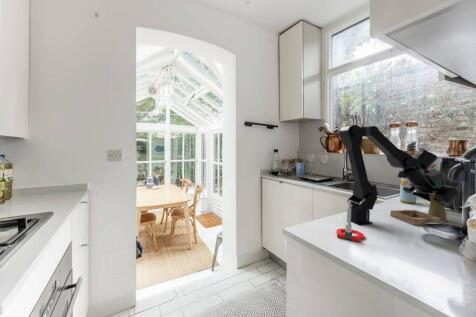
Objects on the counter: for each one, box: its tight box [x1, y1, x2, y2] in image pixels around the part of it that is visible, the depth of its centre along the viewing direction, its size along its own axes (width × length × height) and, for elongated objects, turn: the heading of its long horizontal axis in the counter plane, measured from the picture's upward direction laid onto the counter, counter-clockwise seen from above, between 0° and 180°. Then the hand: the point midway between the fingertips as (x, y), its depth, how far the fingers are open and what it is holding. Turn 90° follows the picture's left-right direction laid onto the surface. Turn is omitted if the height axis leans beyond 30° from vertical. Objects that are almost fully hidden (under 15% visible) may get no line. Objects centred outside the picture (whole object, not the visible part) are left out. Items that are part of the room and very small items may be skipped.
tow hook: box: [335, 201, 365, 243], centre depth 72 cm, size 8×13×9 cm
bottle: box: [399, 178, 417, 205], centre depth 114 cm, size 7×7×15 cm
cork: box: [427, 193, 448, 223], centre depth 87 cm, size 6×6×11 cm
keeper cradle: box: [389, 209, 443, 227], centre depth 87 cm, size 12×12×2 cm
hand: (440, 203), depth 87 cm, fingers closed on cork, 5 cm apart
